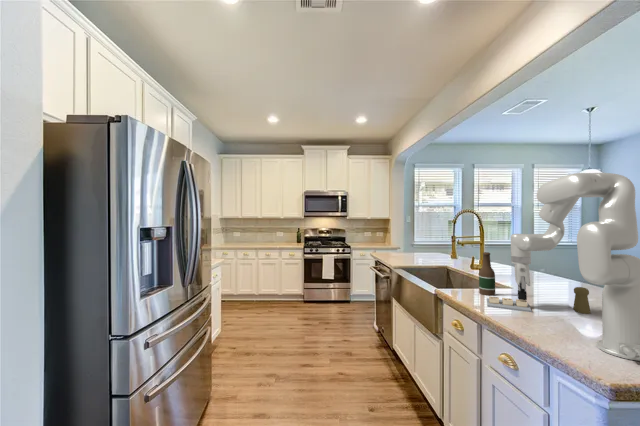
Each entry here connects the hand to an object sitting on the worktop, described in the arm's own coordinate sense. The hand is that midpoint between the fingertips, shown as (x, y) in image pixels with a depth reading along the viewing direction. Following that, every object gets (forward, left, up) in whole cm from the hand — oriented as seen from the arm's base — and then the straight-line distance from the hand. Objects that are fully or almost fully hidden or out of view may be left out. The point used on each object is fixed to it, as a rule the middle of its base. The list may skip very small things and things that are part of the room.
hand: (522, 299), depth 133 cm
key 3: (0, +11, -5) cm, 12 cm away
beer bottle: (+18, +14, -5) cm, 24 cm away
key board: (0, +6, -5) cm, 8 cm away
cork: (+9, -23, -5) cm, 26 cm away
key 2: (0, +6, -5) cm, 7 cm away
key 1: (0, 0, -5) cm, 5 cm away
